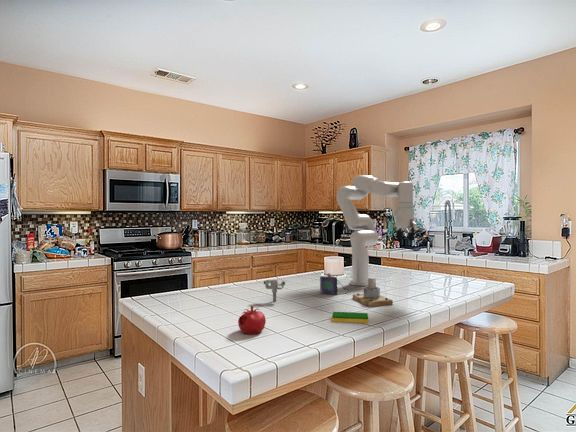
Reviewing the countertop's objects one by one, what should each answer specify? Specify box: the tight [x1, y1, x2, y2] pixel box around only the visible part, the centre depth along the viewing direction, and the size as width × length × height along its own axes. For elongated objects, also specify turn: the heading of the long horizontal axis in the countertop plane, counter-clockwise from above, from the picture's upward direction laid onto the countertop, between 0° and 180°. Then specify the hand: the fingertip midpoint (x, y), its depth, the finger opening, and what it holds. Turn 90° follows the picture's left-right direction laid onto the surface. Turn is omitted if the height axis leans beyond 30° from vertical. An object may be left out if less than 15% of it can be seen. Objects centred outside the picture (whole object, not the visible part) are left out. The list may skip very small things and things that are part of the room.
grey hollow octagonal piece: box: [363, 286, 381, 299], centre depth 171 cm, size 7×7×4 cm
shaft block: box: [352, 277, 394, 307], centre depth 171 cm, size 16×12×11 cm
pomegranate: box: [237, 305, 267, 335], centre depth 130 cm, size 10×10×9 cm
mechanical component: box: [263, 279, 286, 303], centre depth 171 cm, size 3×10×10 cm, turn 78°
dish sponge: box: [331, 311, 369, 324], centre depth 143 cm, size 7×14×2 cm, turn 80°
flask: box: [319, 273, 338, 296], centre depth 187 cm, size 9×3×11 cm, turn 65°
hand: (405, 239), depth 183 cm, fingers open, 9 cm apart
